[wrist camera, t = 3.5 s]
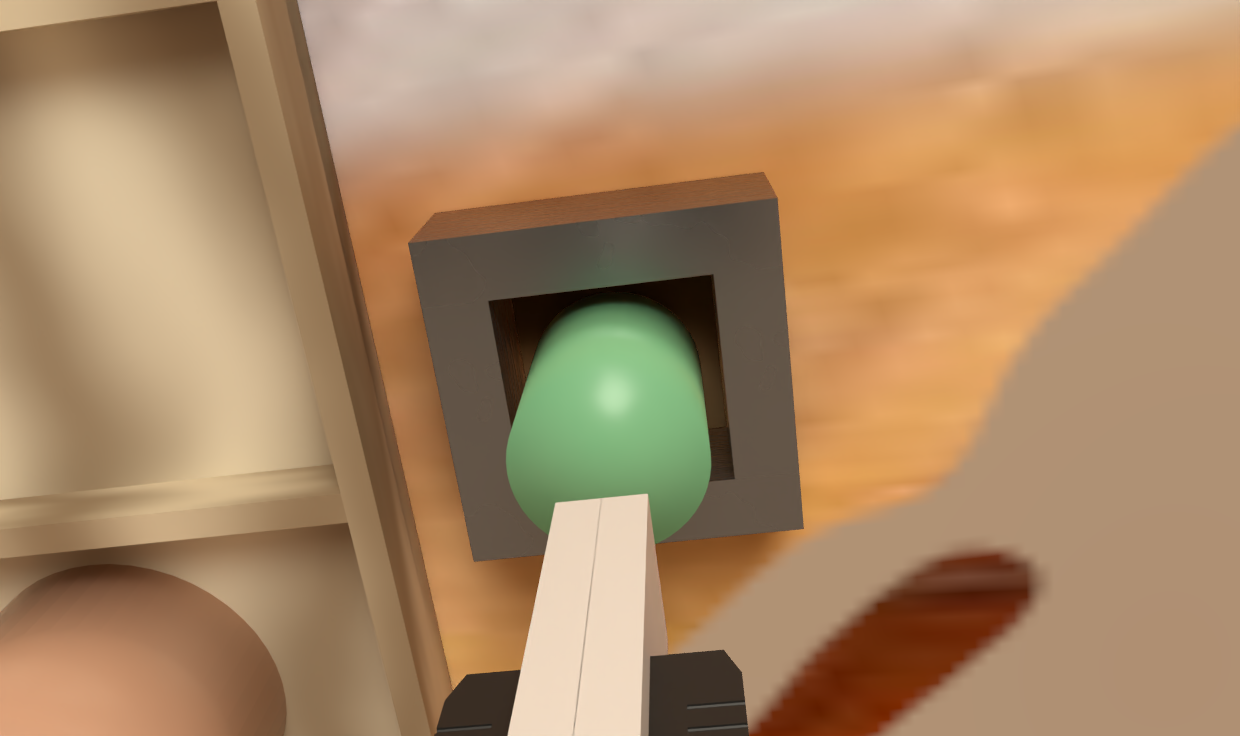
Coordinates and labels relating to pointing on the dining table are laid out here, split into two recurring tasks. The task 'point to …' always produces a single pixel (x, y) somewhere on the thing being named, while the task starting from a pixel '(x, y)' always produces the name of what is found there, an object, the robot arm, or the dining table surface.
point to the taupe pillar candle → (132, 660)
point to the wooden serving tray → (202, 347)
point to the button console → (602, 257)
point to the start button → (612, 413)
